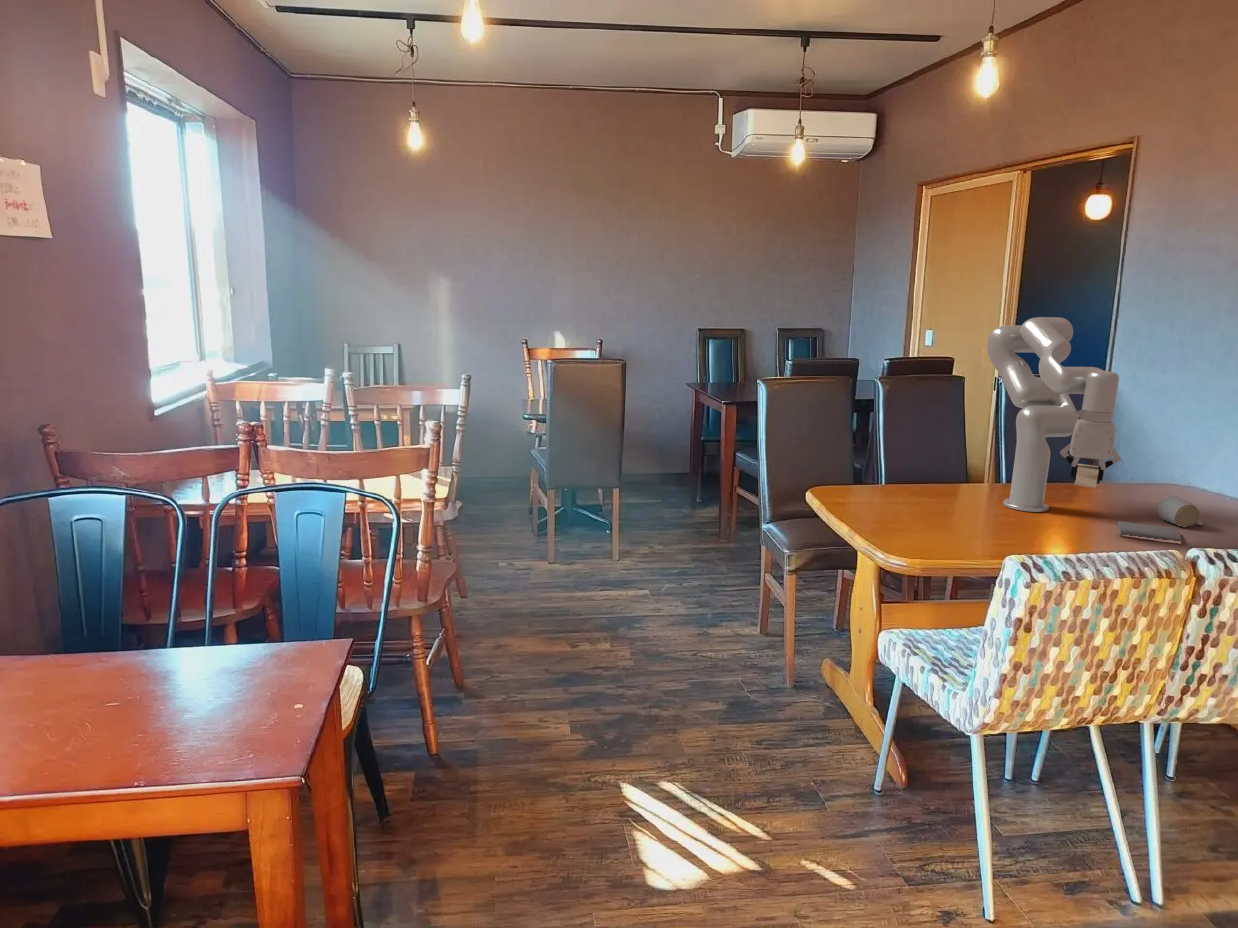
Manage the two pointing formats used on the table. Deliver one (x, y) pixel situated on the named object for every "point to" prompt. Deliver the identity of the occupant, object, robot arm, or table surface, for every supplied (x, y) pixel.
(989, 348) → the robot arm
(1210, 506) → the table surface
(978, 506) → the table surface
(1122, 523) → the serving board
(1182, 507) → the ceramic mug
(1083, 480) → the beech cube
